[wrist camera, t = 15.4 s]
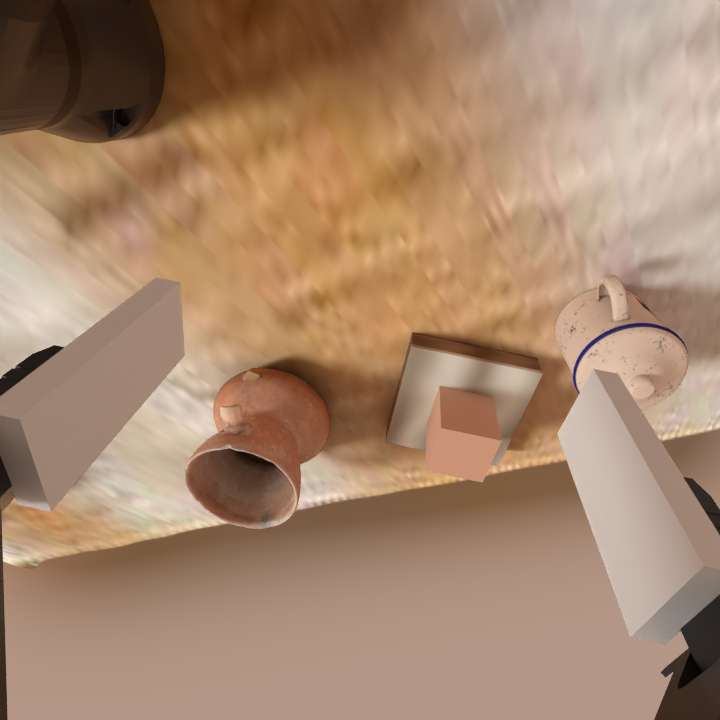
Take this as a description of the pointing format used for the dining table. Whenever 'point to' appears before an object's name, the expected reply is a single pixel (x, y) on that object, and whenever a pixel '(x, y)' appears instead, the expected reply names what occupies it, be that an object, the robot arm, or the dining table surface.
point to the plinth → (459, 386)
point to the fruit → (6, 499)
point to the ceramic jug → (258, 448)
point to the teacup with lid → (621, 342)
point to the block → (462, 434)
